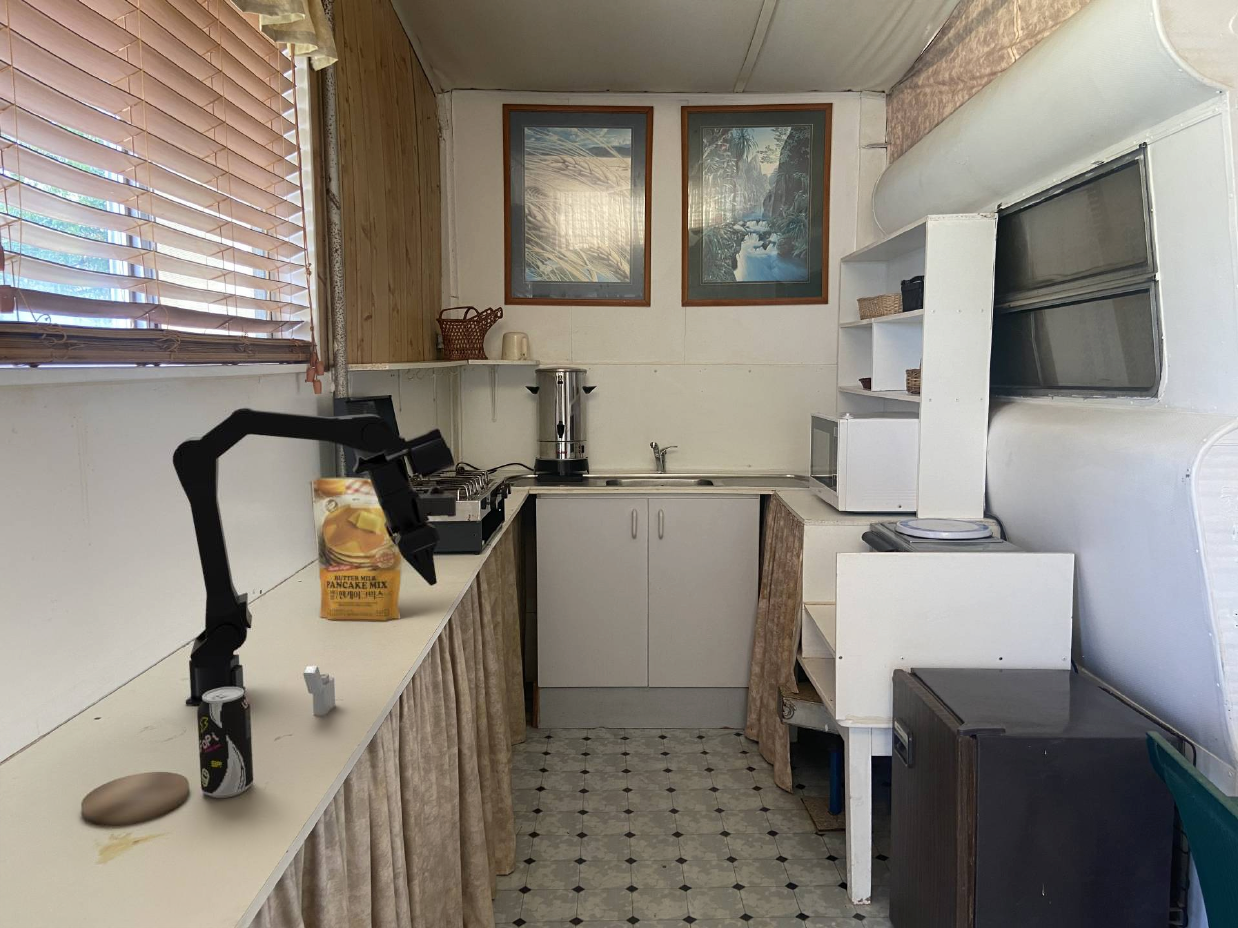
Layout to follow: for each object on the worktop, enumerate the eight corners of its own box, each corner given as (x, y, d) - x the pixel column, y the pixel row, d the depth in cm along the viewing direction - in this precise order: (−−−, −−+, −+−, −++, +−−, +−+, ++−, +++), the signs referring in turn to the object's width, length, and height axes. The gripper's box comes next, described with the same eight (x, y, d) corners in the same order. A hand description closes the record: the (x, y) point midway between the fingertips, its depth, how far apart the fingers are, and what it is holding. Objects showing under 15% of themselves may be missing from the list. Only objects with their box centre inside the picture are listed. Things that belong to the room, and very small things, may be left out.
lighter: (324, 704, 135) (322, 652, 134) (335, 704, 134) (333, 652, 134) (304, 723, 128) (302, 668, 127) (316, 723, 127) (314, 668, 127)
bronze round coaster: (60, 824, 99) (59, 816, 99) (116, 779, 110) (116, 771, 110) (159, 825, 99) (158, 817, 99) (206, 779, 110) (205, 772, 110)
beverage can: (190, 794, 107) (185, 696, 105) (231, 775, 112) (227, 681, 110) (223, 805, 104) (218, 705, 103) (264, 785, 109) (260, 689, 108)
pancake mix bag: (321, 611, 185) (316, 475, 182) (413, 613, 184) (409, 476, 180) (308, 620, 178) (302, 480, 175) (403, 622, 177) (399, 481, 174)
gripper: (452, 478, 137) (487, 570, 141) (432, 465, 155) (463, 547, 158) (382, 506, 134) (419, 599, 137) (369, 489, 151) (403, 573, 155)
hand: (429, 577), depth 147 cm, fingers open, 9 cm apart
